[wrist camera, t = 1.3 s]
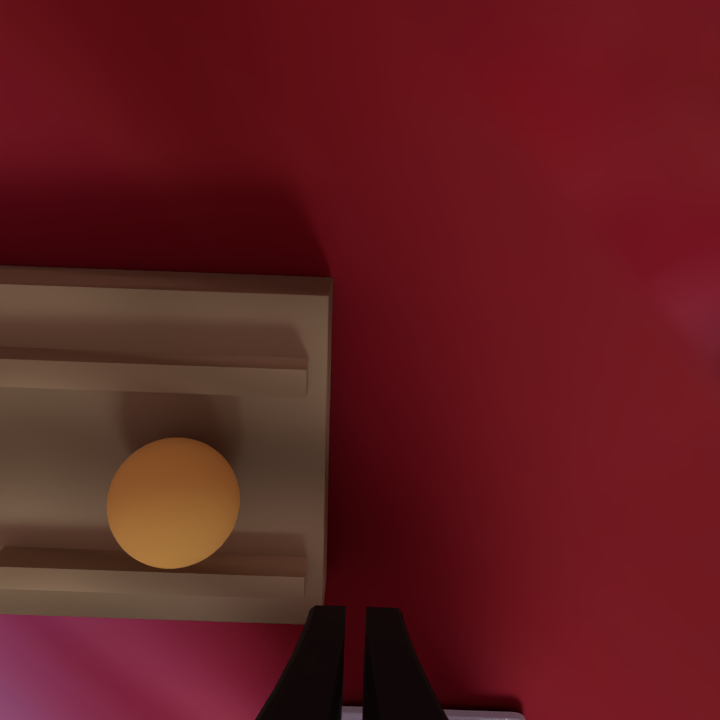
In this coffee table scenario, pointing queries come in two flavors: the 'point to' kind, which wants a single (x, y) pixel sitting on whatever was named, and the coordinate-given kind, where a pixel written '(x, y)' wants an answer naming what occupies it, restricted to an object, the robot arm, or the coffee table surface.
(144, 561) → the ball
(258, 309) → the board
